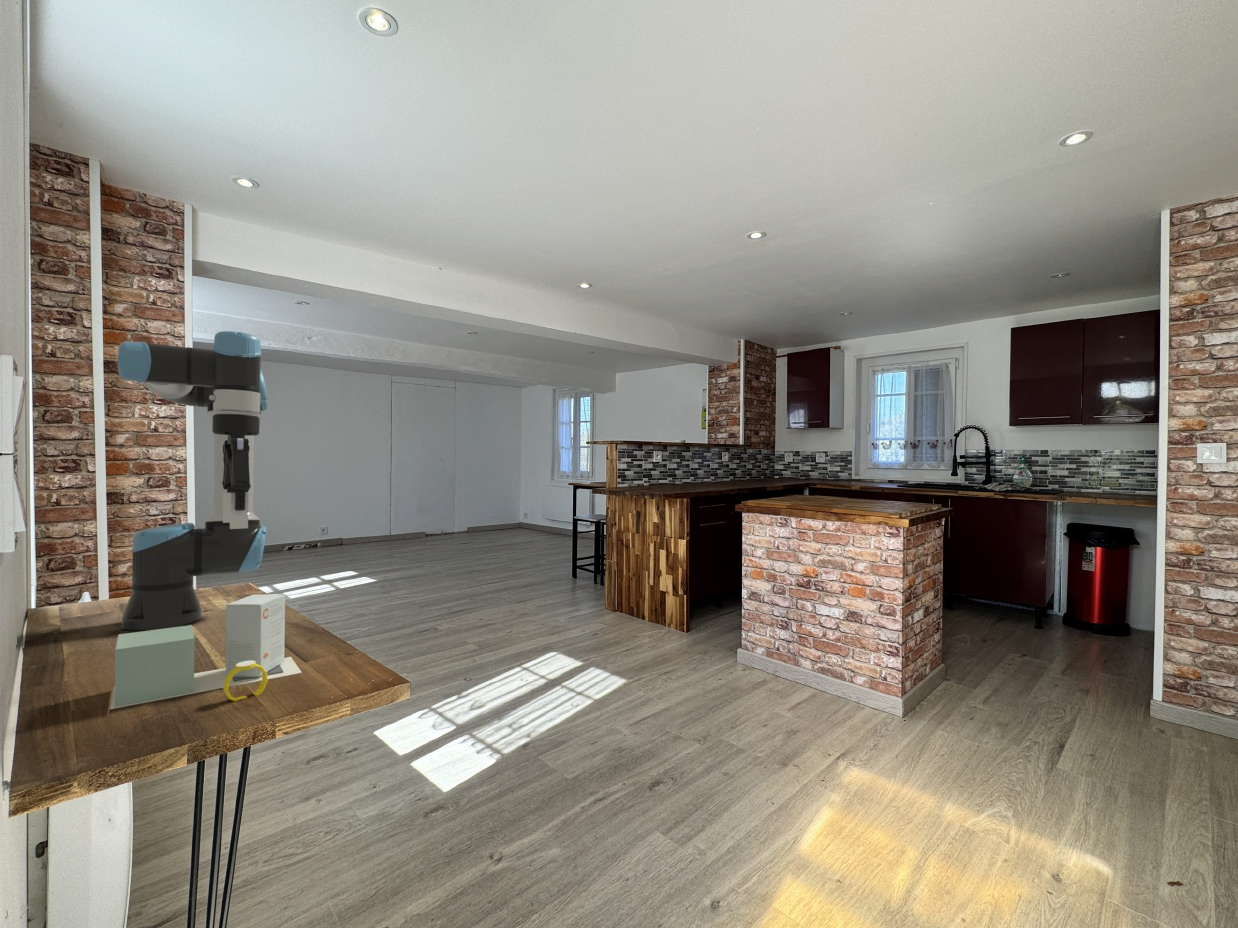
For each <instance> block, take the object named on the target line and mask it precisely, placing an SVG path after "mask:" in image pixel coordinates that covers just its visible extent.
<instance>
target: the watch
mask: <svg viewBox="0 0 1238 928" xmlns="http://www.w3.org/2000/svg"><path fill="white" fill-rule="evenodd" d="M254 667H256V668H259V670H260V671H261V672H262V681H260V684H259V687H258V688H257V689H256V690H255V691H254V692H253V693H252V694H253V695H254V696H259V695H261V694H262V692H263V691H264V690H265V688H266V685H267V684H268V680H269V679H267V672H266V671H265V670H264V668H263V667H261V666H260V665H257V664H256V662H255V661H252V660H249V661H243V662H240V663H237V664H236V668H234V669H233V670H232V671H230V673H229V674H228V676H227V677H226V679H225V681H224V688H222V689H223V692H224V694H225V696H226V697H227V698H228V699H229V700H231V701H233V702H237V701H240V700H244V699H247V698H248V696H247V695H243V696H237V697H235V696H233V695H231V692H230V691H229V690H230V687H229V683H230V681H231V679H232V678H233V676H234V675H235V674H236V673H237V672H239V671H240V670H248V669H251V668H254Z"/></svg>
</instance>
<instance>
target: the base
mask: <svg viewBox="0 0 1238 928" xmlns="http://www.w3.org/2000/svg"><path fill="white" fill-rule="evenodd" d="M302 673H303V672H302V671H301V669H300V668H299V666H298V665H297V664H296V662H295V660H294V659H293V658H292V656H287V657H284V662H283V663H281V664H280V665H278V666H276V667H275V668H273V669H271V670H270V671H268V672H267V680H272V679H277V678H282V677H287V676H292V675H297V674H302ZM225 679H226V667H223V668H219V669H213V670H205V671H201V672H194V692H192V693H187V694H182V695H176V696H171V697H166V698H161V699H155V700H150V701H145V702H139V703H134V704H129V705H124V706H118V707H114V706H115V686H114V687H113V690H112V695H111V701H110V707H109V710H114V709H120V708H124V707H129V706H134V705H140V704H145V703H150V702H151V703H152V702H156V701H161V700H168V699H171V698H177V697H182V696H186V695H193V694H198V693H202V692H209V691H213V690H219V689H223V688H224V681H225ZM256 682H262V676H260V677H233V678H232V679H231V681H230V683H229V688H230V687H235V686H239V685H245V684H249V683H256Z"/></svg>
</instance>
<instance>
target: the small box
mask: <svg viewBox="0 0 1238 928" xmlns="http://www.w3.org/2000/svg"><path fill="white" fill-rule="evenodd" d="M225 611H226V612H225V668H226V677H227V676H228V674H229V673H230V671H232V670H233V669H234V668H236V664H237V663H240V662H243V661H249V660H252V661H255V662H256V664H257V665H260V666H261V667H263V668H264V670H265V671H266V672H268V671H270V670H271V669H273V668H275V667H276V666H278V665H280V664H281V663H283V662H284V658H285V637H286V636H285V631H286V629H285V628H286V627H285V622H286V621H285V620H286V595H285V594H275V593H274V594H272V593H271V594H265V593H264V594H251V595H248V596H246V597H242V598H241V599H238V600H235V601H233V602H230V603H227V604H225ZM260 676H262V672H261V671H260V670H259V668H256V667H254V668H251V669H248V670H240V671H239V672H237V673H236V674H235V675H234V676H233V677H260Z"/></svg>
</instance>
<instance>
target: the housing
mask: <svg viewBox="0 0 1238 928" xmlns="http://www.w3.org/2000/svg"><path fill="white" fill-rule="evenodd" d="M195 646H196V637H195V634H194V628H193V625H192V624H187V625H181V626H176V627H171V628H164V629H155V630H141V631H136V632H128V633H120V634H118V636H117V640H116V645H115V653H114V654H115V655H114V656H115V657H114V658H115V659H114V660H115V662H114V663H115V664H114V687H115V706H114V707H118V706H124V705H129V704H134V703H139V702H145V701H150V700H155V699H161V698H166V697H171V696H176V695H182V694H187V693H192V692H194V673H195V655H196V654H195V653H196V652H195V649H196V647H195Z"/></svg>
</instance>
